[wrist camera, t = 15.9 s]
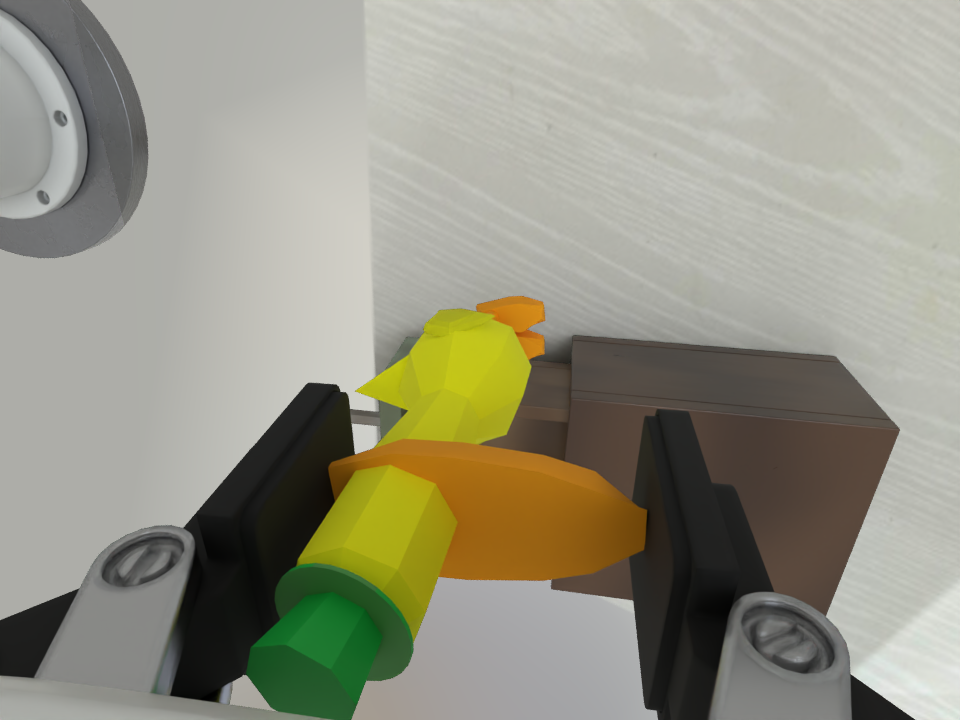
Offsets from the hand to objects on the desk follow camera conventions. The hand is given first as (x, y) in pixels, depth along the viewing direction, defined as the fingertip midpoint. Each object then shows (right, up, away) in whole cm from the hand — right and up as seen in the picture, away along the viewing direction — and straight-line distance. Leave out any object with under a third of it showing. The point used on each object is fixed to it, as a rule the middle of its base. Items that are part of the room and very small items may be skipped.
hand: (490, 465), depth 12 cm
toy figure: (+1, +3, +6) cm, 7 cm away
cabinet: (+12, -3, +25) cm, 28 cm away
